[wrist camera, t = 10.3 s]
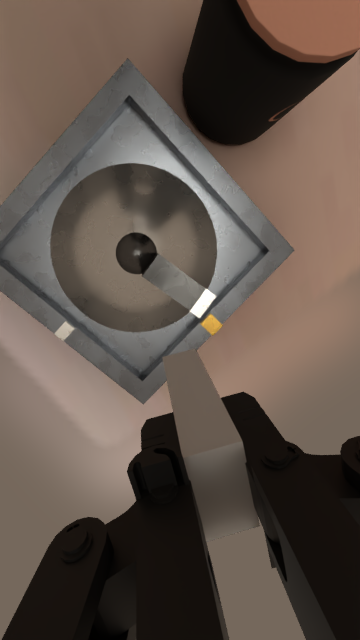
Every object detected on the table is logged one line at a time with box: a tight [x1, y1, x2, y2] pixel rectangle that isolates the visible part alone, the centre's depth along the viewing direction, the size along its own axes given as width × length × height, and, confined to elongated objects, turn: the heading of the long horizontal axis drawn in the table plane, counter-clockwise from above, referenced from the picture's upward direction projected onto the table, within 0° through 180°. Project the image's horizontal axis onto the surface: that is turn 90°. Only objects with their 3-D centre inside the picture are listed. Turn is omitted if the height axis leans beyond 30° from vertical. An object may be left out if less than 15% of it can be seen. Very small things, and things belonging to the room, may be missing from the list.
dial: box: [50, 163, 217, 332], centre depth 31 cm, size 17×17×6 cm
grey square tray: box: [0, 58, 294, 404], centre depth 34 cm, size 24×24×5 cm
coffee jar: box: [183, 0, 360, 144], centre depth 25 cm, size 11×11×18 cm
